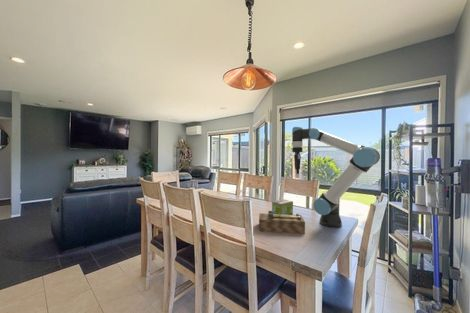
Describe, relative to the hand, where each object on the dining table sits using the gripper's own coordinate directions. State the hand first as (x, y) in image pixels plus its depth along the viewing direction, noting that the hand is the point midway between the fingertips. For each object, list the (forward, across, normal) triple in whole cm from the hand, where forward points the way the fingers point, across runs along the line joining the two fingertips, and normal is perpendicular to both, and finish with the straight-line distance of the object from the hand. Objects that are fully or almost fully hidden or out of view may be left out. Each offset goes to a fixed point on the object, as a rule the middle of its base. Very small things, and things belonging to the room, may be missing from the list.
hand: (297, 177), depth 159 cm
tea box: (+34, -5, -11) cm, 36 cm away
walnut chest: (+34, +15, -14) cm, 40 cm away
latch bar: (+26, +15, -12) cm, 32 cm away
